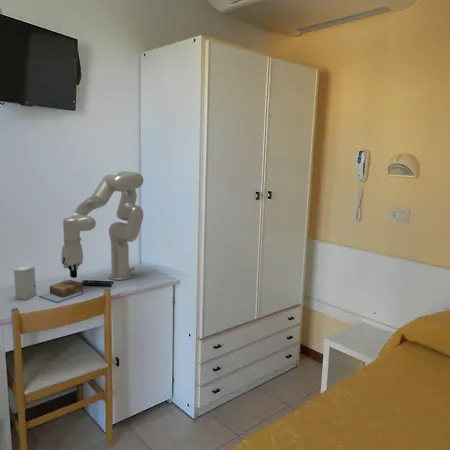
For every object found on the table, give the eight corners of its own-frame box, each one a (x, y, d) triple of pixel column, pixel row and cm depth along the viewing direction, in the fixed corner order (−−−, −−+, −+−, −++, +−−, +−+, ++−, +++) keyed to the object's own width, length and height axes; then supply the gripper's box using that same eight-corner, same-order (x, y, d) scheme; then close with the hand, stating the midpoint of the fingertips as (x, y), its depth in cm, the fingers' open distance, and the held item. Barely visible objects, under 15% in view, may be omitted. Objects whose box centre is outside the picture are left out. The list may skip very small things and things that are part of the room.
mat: (64, 288, 220) (64, 287, 220) (83, 294, 213) (83, 292, 213) (39, 296, 207) (38, 295, 207) (57, 303, 200) (57, 301, 200)
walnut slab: (69, 279, 219) (49, 285, 209) (82, 283, 214) (62, 289, 204) (70, 286, 220) (49, 293, 210) (83, 290, 215) (63, 297, 205)
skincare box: (26, 300, 203) (24, 270, 200) (15, 299, 203) (13, 269, 201) (36, 294, 211) (35, 265, 208) (25, 293, 212) (23, 264, 209)
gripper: (79, 238, 220) (80, 272, 223) (54, 243, 207) (56, 279, 211) (89, 240, 216) (90, 274, 220) (64, 246, 203) (66, 282, 207)
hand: (73, 277), depth 215 cm, fingers closed
